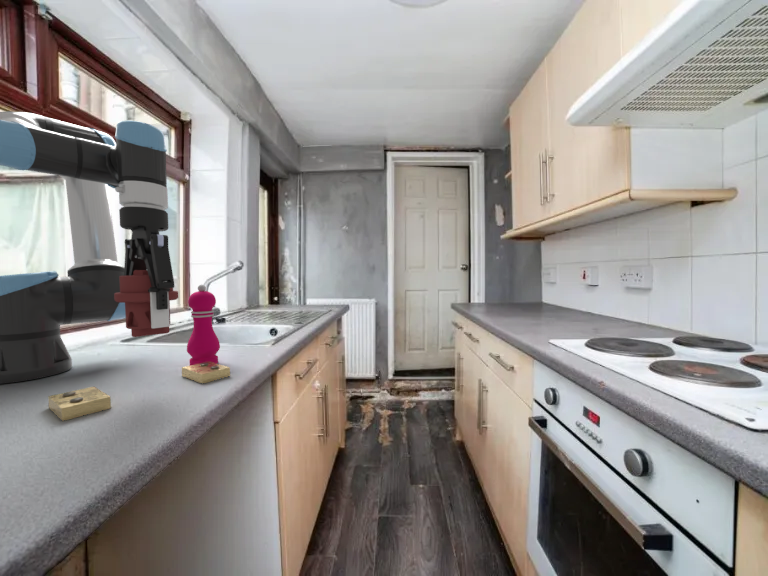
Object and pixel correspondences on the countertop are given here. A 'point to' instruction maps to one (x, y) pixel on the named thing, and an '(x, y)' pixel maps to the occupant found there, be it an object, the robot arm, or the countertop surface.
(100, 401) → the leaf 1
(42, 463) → the countertop surface
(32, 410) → the countertop surface
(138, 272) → the mechanical component
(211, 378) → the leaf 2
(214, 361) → the pepper mill
